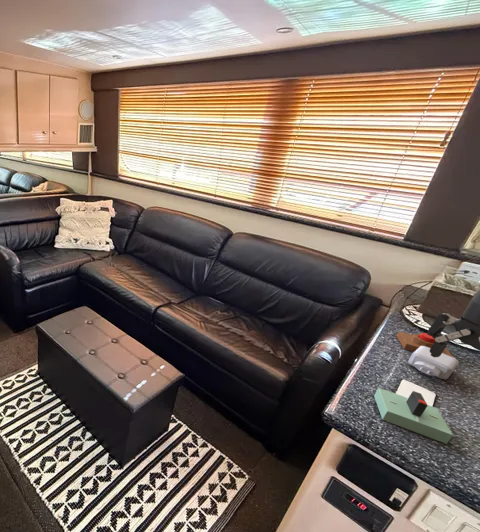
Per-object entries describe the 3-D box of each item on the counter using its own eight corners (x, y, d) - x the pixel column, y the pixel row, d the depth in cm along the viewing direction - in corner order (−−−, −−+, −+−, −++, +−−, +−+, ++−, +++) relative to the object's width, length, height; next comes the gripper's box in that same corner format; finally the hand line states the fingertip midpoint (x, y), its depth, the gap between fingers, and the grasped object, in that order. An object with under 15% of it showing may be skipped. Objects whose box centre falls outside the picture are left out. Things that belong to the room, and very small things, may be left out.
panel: (431, 416, 84) (437, 407, 83) (446, 444, 76) (453, 434, 75) (373, 395, 89) (378, 387, 88) (382, 419, 81) (387, 410, 80)
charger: (400, 368, 102) (414, 355, 110) (440, 387, 95) (452, 372, 103) (407, 357, 100) (421, 344, 108) (449, 375, 93) (460, 360, 101)
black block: (405, 401, 84) (413, 390, 82) (413, 404, 83) (421, 392, 82) (411, 414, 80) (419, 402, 78) (420, 417, 79) (428, 405, 78)
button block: (439, 348, 116) (444, 339, 115) (450, 362, 108) (456, 352, 107) (396, 336, 122) (401, 327, 120) (403, 348, 114) (409, 339, 112)
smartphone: (436, 393, 92) (429, 416, 83) (435, 395, 92) (428, 418, 83) (402, 378, 97) (393, 398, 88) (401, 380, 98) (391, 400, 89)
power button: (432, 339, 114) (434, 335, 113) (436, 344, 111) (438, 340, 110) (417, 335, 116) (419, 331, 115) (420, 340, 113) (423, 336, 112)
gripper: (566, 323, 60) (514, 389, 66) (466, 289, 72) (430, 347, 78) (542, 325, 58) (491, 394, 64) (444, 290, 70) (409, 350, 77)
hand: (458, 368), depth 71 cm, fingers open, 8 cm apart
